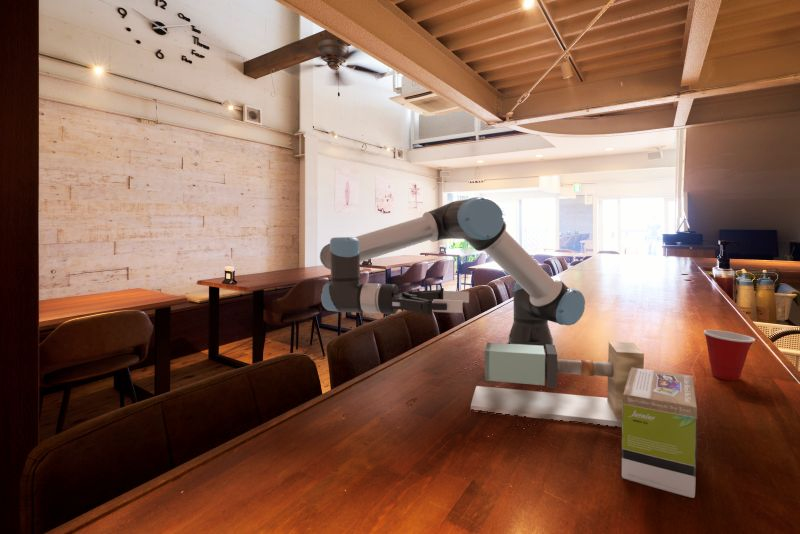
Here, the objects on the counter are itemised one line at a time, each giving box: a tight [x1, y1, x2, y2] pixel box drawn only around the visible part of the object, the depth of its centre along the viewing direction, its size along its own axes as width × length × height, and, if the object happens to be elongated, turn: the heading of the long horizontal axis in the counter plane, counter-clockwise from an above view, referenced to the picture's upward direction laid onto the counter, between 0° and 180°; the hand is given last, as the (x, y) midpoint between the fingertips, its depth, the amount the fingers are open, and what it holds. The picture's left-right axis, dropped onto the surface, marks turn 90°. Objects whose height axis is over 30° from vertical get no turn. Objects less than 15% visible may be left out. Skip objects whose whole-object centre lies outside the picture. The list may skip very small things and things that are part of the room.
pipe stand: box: [470, 341, 645, 428], centre depth 90 cm, size 36×12×15 cm, turn 73°
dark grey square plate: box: [544, 344, 558, 389], centre depth 90 cm, size 2×8×8 cm, turn 163°
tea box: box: [621, 367, 698, 499], centre depth 68 cm, size 15×10×15 cm, turn 145°
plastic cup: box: [703, 329, 756, 381], centre depth 107 cm, size 11×11×12 cm
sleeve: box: [484, 342, 546, 386], centre depth 93 cm, size 13×7×7 cm, turn 73°
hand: (465, 301), depth 95 cm, fingers open, 13 cm apart
